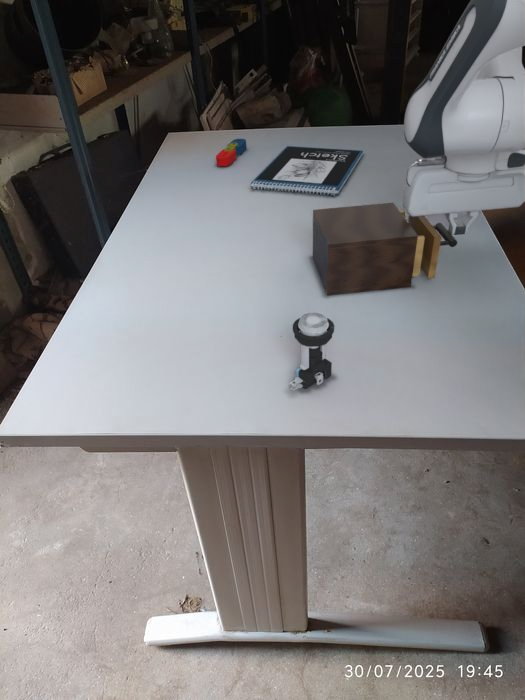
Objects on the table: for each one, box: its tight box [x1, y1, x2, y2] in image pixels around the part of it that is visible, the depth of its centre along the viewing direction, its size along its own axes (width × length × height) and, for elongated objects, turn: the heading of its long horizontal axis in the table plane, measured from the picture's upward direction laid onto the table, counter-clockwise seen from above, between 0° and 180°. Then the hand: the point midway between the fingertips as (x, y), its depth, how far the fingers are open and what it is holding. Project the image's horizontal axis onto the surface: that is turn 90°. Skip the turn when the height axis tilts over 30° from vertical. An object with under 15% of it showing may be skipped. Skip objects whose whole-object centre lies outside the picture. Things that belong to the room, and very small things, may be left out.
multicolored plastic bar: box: [215, 138, 247, 167], centre depth 149 cm, size 17×4×3 cm, turn 163°
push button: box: [289, 311, 335, 392], centre depth 71 cm, size 7×5×10 cm
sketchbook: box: [250, 145, 364, 197], centre depth 138 cm, size 22×30×2 cm
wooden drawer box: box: [312, 202, 418, 296], centre depth 94 cm, size 15×14×10 cm
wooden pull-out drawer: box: [399, 209, 458, 280], centre depth 95 cm, size 18×12×8 cm
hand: (457, 233), depth 95 cm, fingers closed
